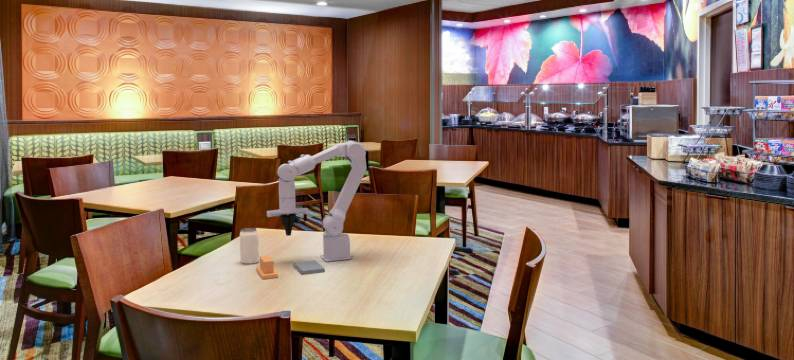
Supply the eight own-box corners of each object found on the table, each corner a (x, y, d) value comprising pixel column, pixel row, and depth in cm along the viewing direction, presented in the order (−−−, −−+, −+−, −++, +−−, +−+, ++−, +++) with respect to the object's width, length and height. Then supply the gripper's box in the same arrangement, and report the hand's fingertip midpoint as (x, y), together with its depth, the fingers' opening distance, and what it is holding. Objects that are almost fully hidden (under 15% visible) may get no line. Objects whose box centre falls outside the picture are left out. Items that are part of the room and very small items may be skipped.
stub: (270, 268, 213) (270, 253, 212) (278, 277, 202) (277, 262, 201) (256, 269, 211) (255, 255, 210) (262, 279, 200) (262, 263, 199)
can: (254, 264, 218) (253, 231, 216) (237, 263, 219) (236, 231, 218) (262, 260, 224) (260, 227, 223) (245, 259, 225) (244, 227, 224)
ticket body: (315, 263, 219) (315, 259, 219) (324, 271, 208) (324, 268, 208) (293, 265, 216) (293, 262, 216) (301, 274, 205) (301, 270, 205)
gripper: (304, 194, 225) (305, 231, 226) (264, 197, 219) (265, 234, 221) (309, 197, 218) (310, 234, 220) (268, 200, 213) (269, 238, 214)
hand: (288, 235), depth 220 cm, fingers closed
